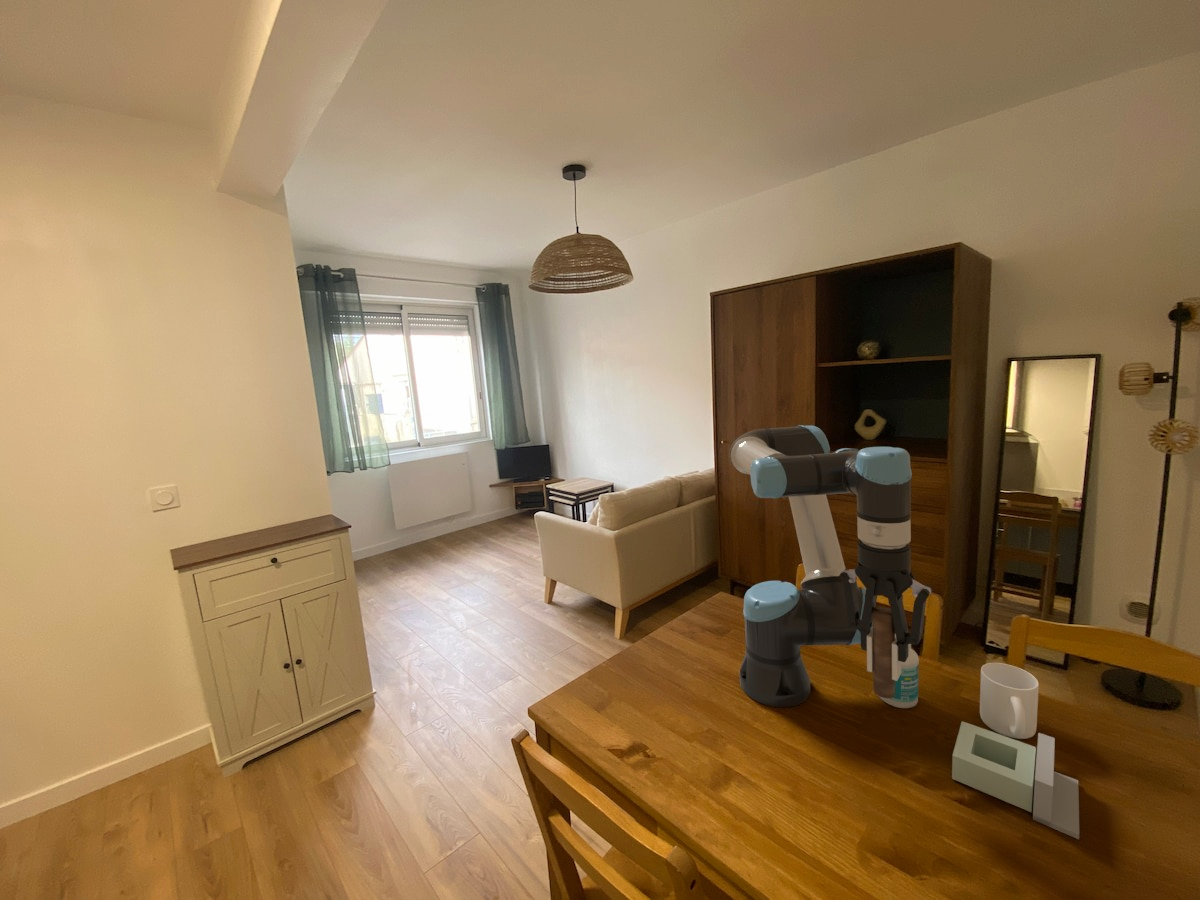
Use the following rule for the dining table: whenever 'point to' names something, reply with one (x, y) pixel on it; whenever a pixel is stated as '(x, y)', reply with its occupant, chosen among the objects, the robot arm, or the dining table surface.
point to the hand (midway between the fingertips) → (884, 671)
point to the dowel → (883, 652)
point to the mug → (1009, 700)
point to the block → (995, 765)
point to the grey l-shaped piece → (1054, 792)
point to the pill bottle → (906, 683)
